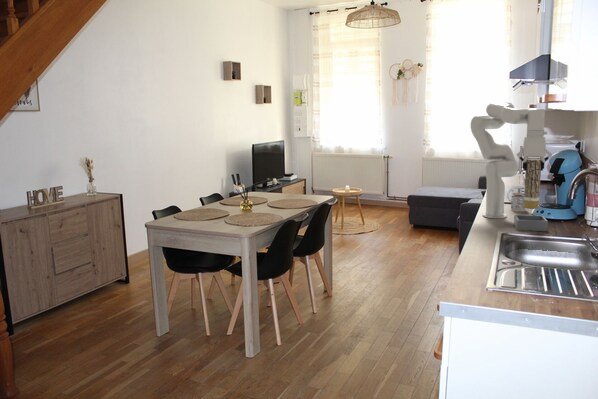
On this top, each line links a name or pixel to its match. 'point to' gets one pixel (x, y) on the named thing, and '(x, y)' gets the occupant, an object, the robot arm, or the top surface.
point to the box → (530, 222)
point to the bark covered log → (532, 183)
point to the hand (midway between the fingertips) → (533, 170)
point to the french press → (517, 198)
